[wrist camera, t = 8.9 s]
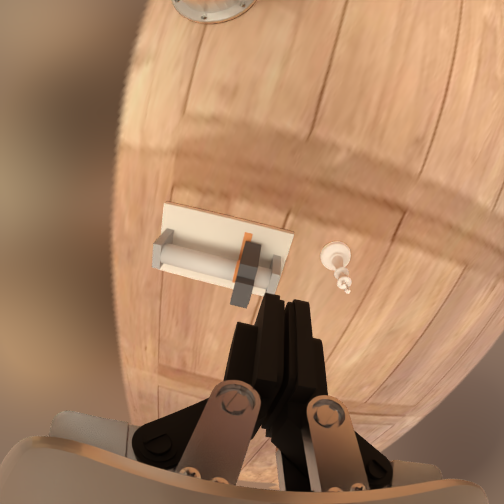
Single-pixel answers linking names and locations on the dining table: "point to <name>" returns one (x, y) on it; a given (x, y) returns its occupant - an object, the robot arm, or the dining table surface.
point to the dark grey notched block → (246, 275)
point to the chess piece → (337, 262)
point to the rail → (218, 247)
